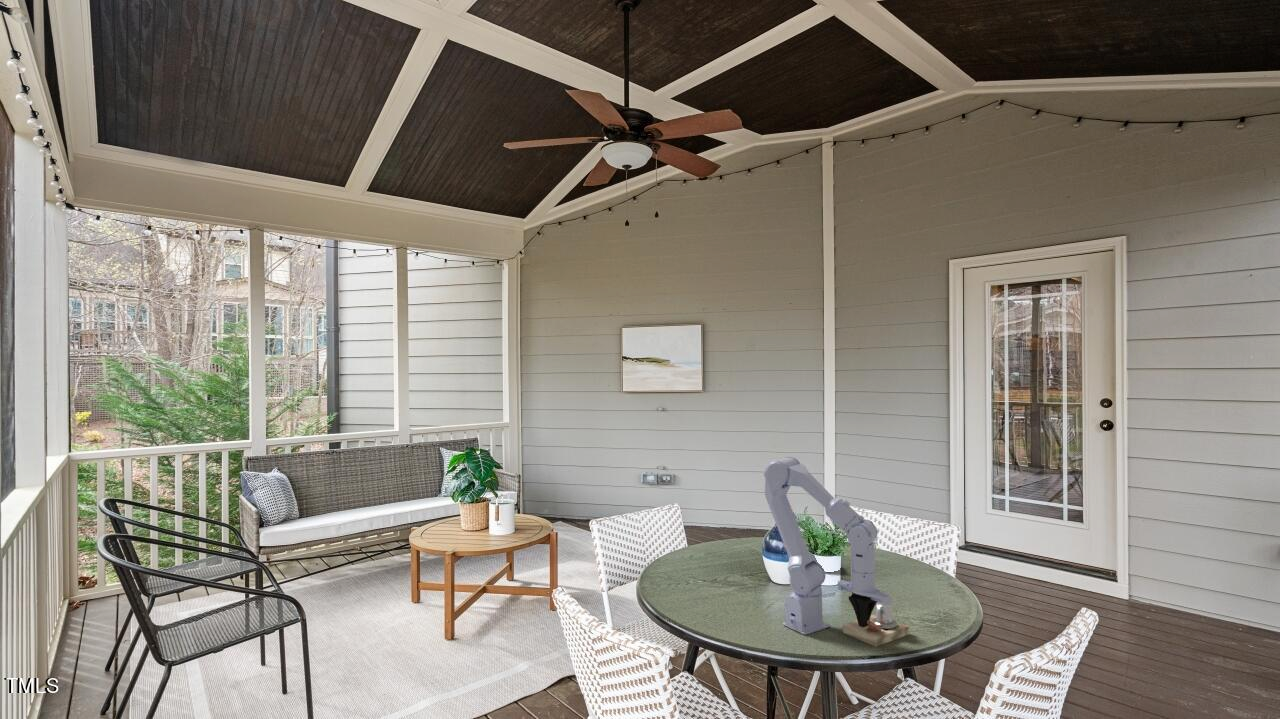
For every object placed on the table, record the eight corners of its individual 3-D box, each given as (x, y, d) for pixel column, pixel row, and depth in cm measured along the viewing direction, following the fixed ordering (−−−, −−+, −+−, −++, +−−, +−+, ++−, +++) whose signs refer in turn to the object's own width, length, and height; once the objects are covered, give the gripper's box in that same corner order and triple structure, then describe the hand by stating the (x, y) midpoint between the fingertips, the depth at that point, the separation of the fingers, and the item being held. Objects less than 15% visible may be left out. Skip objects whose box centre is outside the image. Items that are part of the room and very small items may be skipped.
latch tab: (870, 624, 155) (871, 621, 156) (857, 619, 159) (858, 616, 159) (880, 630, 157) (881, 627, 158) (867, 625, 161) (868, 622, 161)
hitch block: (875, 646, 153) (875, 638, 153) (843, 632, 162) (842, 624, 162) (909, 634, 160) (909, 626, 160) (876, 621, 169) (876, 613, 169)
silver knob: (887, 638, 157) (886, 610, 157) (867, 630, 162) (867, 603, 162) (902, 633, 160) (901, 605, 160) (882, 625, 165) (881, 598, 165)
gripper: (898, 575, 153) (899, 632, 153) (850, 561, 166) (851, 613, 165) (879, 580, 150) (880, 638, 149) (831, 565, 162) (832, 618, 162)
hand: (863, 625), depth 157 cm, fingers closed, pressing on latch tab
